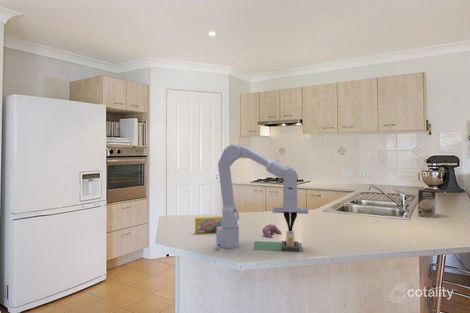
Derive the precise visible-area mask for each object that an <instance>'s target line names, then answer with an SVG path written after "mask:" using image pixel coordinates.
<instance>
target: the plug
mask: <svg viewBox="0 0 470 313" xmlns="http://www.w3.org/2000/svg"><path fill="white" fill-rule="evenodd" d="M285 234H286V235H285V236H286V237H285V238H286V240H285V241H286V247H294V241H295V232H294V231H293V230H292V231H289V230H286V233H285Z"/></svg>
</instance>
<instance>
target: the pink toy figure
mask: <svg viewBox="0 0 470 313" xmlns="http://www.w3.org/2000/svg"><path fill="white" fill-rule="evenodd" d="M261 231H262V234H263V235H264V236H265V237H266V238H268V239H273V238H274V237H273V235H275V234H276V235H283V234H282V232H281V230H280V229H279V228H278V227H277V225H275V224H267V225H265V226H263V228H262V230H261Z"/></svg>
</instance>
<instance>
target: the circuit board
mask: <svg viewBox="0 0 470 313" xmlns="http://www.w3.org/2000/svg"><path fill="white" fill-rule="evenodd" d="M298 245H299V252H298V253H304V250H303V245H302V242H298ZM285 247H286V245H285ZM294 247H295V246H294ZM252 250H253V251H263V252H264V251H266V252H267V251H269V252H283V251H282V241H261V240H260V241H257V240H255V241H254V244H253V249H252ZM284 252H285V253H286V252H287V253H288V251H284Z"/></svg>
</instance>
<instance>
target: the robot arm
mask: <svg viewBox="0 0 470 313" xmlns="http://www.w3.org/2000/svg"><path fill="white" fill-rule="evenodd" d="M240 158H241V159H250V160H252V161H254V162H255V163H258V164H260V165H262V166H264V167H265V170H266V172H268V173H270V174H272V175H274V176H276V177H277V178H279V179H283V186H282V188H283V190H282V191H283V192H282V199H283V200H282V202H283V203H282V207H272V214H283V217H284V219H285V222H286V224H287V228H288V230H287V231H293V228H294V224H295V221H296V219H297V217H298V214H305V215H309V208H308V207H307V208H305V207H298V182H297V181H298V178H299V176H298V173H297V171H296V170H295V169H294V168H292V167H290V166H289V165H288V164H287V165H286V164H284V163H282V162H280V160H279V159H275V158H272V159H268V158H266V157H264V156H263V155H261V154H259V153H257V152H256V151H254V150H252V149H250V148H248V147H246V146H242V145H240V144H238V143H230V144H229V145H228V146H226V147H225V148H224V150H223V151H222V153H221V156H220V158H219V161H218V163H217V168H218V174H219V176H218V177H219V182H220V183H219V184H220V185H219V186H220V192H221V199H222V213H221V214H222V219H221V223H222V226H221V227H217V232H216V233H215V236H216V237H215V238H216V240H215V242H216V246H215V247H216V248H215V250H217V251H218V250H219V251H220V248H225V249H236V248H239V247H240V225H239V224H238V221H239V220H240V214H239V212H238V210H237V206H236V203H235V197H234V189H233V182H232V173H231V166H232V165H233V164H234V163H235V161H236V160H238V159H240Z"/></svg>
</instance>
